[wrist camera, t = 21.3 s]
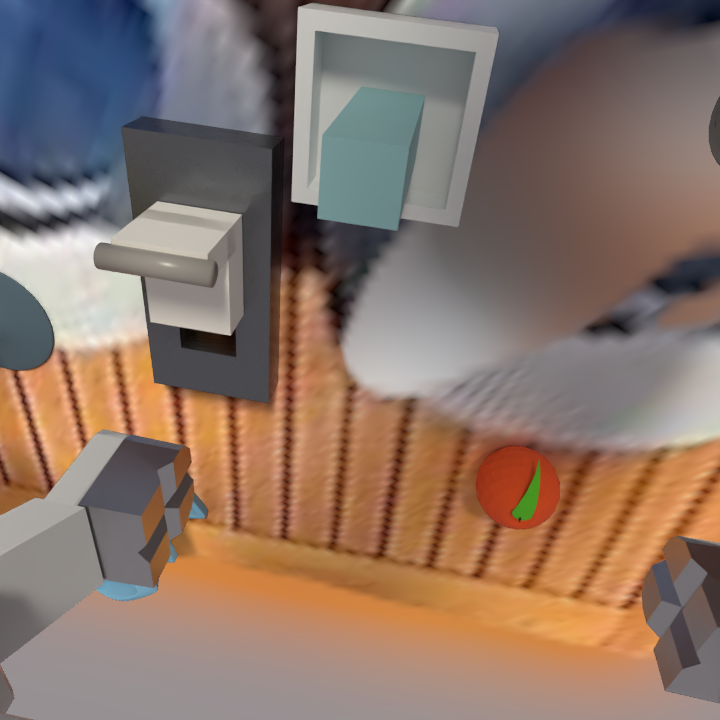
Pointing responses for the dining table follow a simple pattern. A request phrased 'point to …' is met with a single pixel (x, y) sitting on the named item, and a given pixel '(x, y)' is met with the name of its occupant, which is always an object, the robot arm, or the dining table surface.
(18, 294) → the cocktail glass
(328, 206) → the block
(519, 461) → the clementine
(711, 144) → the thermos bottle
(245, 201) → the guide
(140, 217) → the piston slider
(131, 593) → the chair
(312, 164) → the tray
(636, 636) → the dining table surface
